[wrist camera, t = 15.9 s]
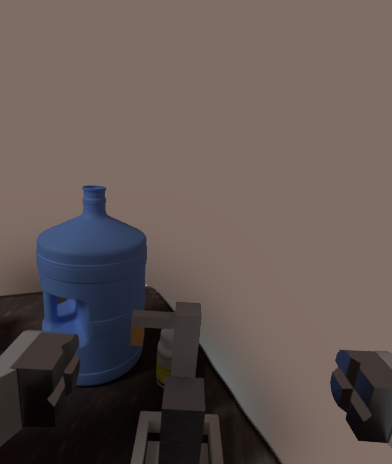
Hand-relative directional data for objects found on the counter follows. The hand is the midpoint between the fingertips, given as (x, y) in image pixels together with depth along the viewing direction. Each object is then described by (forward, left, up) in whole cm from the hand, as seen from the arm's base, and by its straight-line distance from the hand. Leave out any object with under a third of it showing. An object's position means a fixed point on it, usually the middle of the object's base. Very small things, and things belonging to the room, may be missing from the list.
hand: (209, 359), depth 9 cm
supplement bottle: (+4, +29, -28) cm, 41 cm away
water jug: (-8, +36, -28) cm, 47 cm away
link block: (+3, +15, -28) cm, 32 cm away
